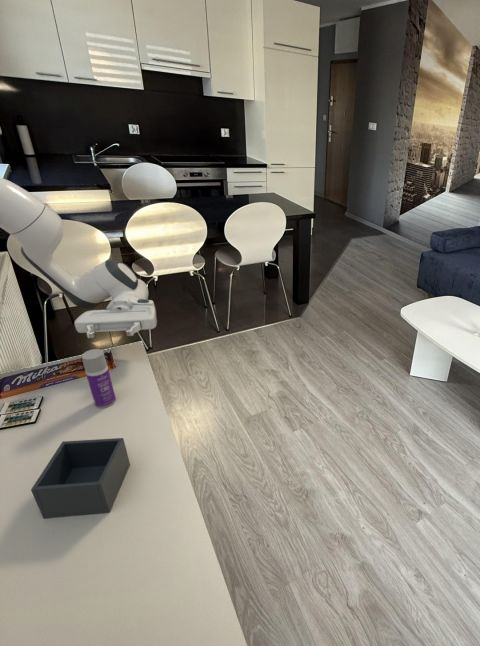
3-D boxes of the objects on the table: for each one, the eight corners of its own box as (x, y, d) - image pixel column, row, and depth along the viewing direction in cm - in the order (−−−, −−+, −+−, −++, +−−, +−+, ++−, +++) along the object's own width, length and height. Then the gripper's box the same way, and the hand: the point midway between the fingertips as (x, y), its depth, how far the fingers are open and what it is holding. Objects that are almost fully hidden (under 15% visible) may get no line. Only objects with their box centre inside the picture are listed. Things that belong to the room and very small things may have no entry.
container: (107, 409, 100) (94, 360, 93) (90, 406, 101) (76, 357, 94) (120, 397, 104) (108, 350, 98) (103, 394, 105) (91, 347, 98)
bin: (43, 518, 74) (30, 489, 71) (72, 468, 84) (62, 441, 80) (109, 512, 76) (100, 484, 73) (130, 464, 86) (123, 437, 83)
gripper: (82, 303, 115) (62, 327, 103) (158, 300, 120) (148, 322, 108) (87, 321, 118) (69, 347, 106) (161, 318, 123) (152, 342, 111)
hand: (110, 334), depth 107 cm, fingers open, 8 cm apart
